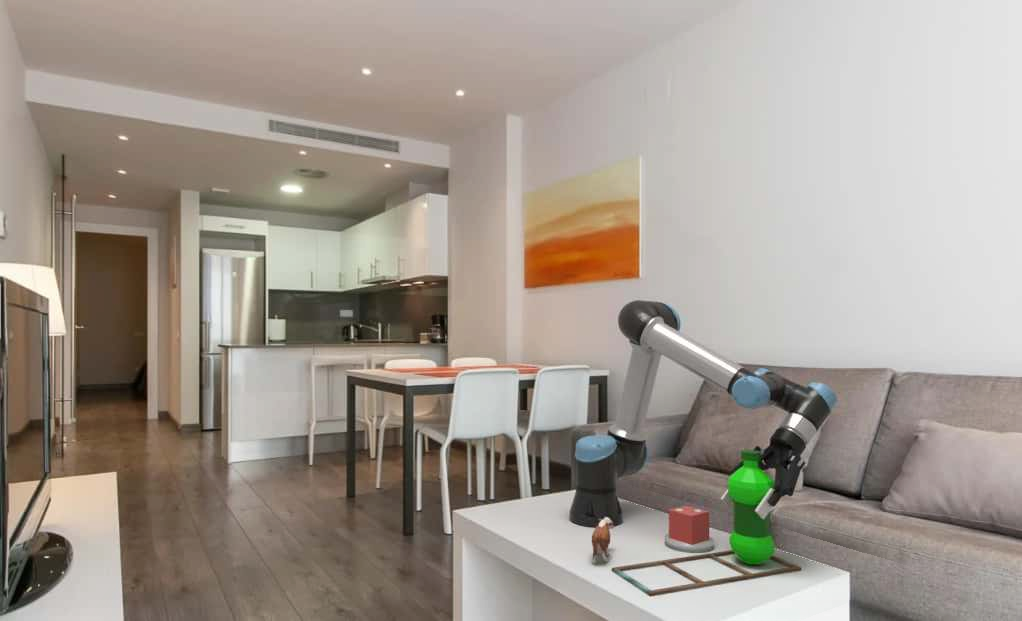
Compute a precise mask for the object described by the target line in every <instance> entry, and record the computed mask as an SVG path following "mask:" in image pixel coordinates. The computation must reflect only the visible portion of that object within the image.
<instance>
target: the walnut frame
mask: <svg viewBox="0 0 1022 621" xmlns="http://www.w3.org/2000/svg"><path fill="white" fill-rule="evenodd" d="M729 555H735V553H734V552H733V550H732V549H731V550H730V549H729V550H724V551H718V552H717V551H715V552H710V553H709V552H708V553H703V554H702V553H701V554H697V555H690V556H689V555H688V556H682V557H675V558H669V559H668V558H667V559H663V560H657V561H655V560H654V561H650V562H642V563H635V564H630V565H629V564H628V565H622V566H617V567H616V566H614V567H611V571H612V572H614V574H616V575H617V576H619V577H621V578H622V579H623V580H625V581H627V582H629V583H630V584H631V585H633V586H634V587H636V588H637V589H638V590H640V591H641V592H643V593H645V594H647V595H648V596H650V597H652V596H658V595H664V594H671V593H675V592H681V591H688V590H692V589H699V588H705V587H710V586H711V587H712V586H717V585H721V584H722V585H723V584H728V583H734V582H735V583H736V582H740V581H744V580H751V579H758V578H763V577H768V576H770V577H771V576H773V575H774V576H775V575H781V574H786V573H791V572H792V573H793V572H798V571H802V567H801V566H799V565H796V564H795V563H792V562H790V561H787V560H785V559H783V558H780V557H778V556H775V555H774V554H773V555H772V556H771V557H770V558H769V559H770V560H772V561H774V562H777V563H778V564H779V563H780V564H781V565H784V566H786V567H782V568H777V569H771V570H770V569H769V570H766V571H759V572H754V573H753V572H750V571H748V570H746V569H745V568H742V567H739V566H738V565H735V564H733V563H731V562H729V561H726V560H725V559H723V558H721V557H722V556H729ZM703 559H711V560H713V561H715V562H717V563H719V564H722V565H724V566H726V567H728V568H730V569H731V570H734V571H736V572H738V573H740V574H741V575H735V576H729V577H723V578H718V579H711V580H707V581H703V580H702V579H700V578H698V577H696V576H694V575H693V574H690V572H687V571H685V570H683V569H681V568H680V567H678V566H676V565H675V564H676V563H682V562H683V563H685V562H690V561H697V560H703ZM657 566H665V567H667V568H669V569H670V570H672V571H674V572H676V573H677V574H679V575H681V576H683V577H685V578H686V579H688V580H690V581H692V582H693V583H688V584H681V585H675V586H669V587H663V588H658V589H650V588H648V587H647V586H645V585H644V584H642V583H641V582H639V581H637V580H636V579H634V578H633V577H631V576H629V575H628V574H627V573H625V572H624V571H632V570H636V569H637V570H639V569H643V568H644V569H645V568H649V567H650V568H651V567H657Z"/></svg>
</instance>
